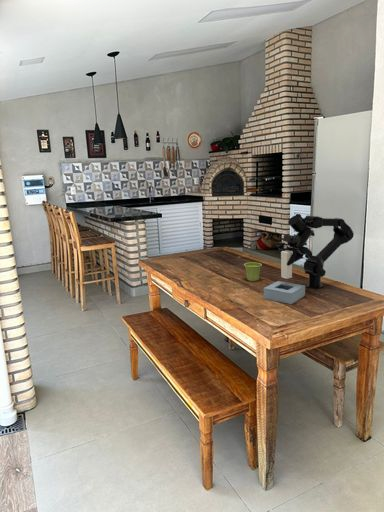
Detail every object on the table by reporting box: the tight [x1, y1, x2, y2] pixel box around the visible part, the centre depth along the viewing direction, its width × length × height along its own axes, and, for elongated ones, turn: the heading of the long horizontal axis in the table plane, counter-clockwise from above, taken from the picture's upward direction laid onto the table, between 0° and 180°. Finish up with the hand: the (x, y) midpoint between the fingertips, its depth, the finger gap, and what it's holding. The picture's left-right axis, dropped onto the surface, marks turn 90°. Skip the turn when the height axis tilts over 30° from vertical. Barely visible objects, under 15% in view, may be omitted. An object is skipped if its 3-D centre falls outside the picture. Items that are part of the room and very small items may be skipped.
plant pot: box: [243, 261, 263, 282], centre depth 210 cm, size 9×9×9 cm
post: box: [280, 250, 293, 280], centre depth 183 cm, size 4×4×12 cm
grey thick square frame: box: [263, 280, 306, 305], centre depth 181 cm, size 14×14×5 cm
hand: (284, 264), depth 182 cm, fingers closed on post, 3 cm apart
